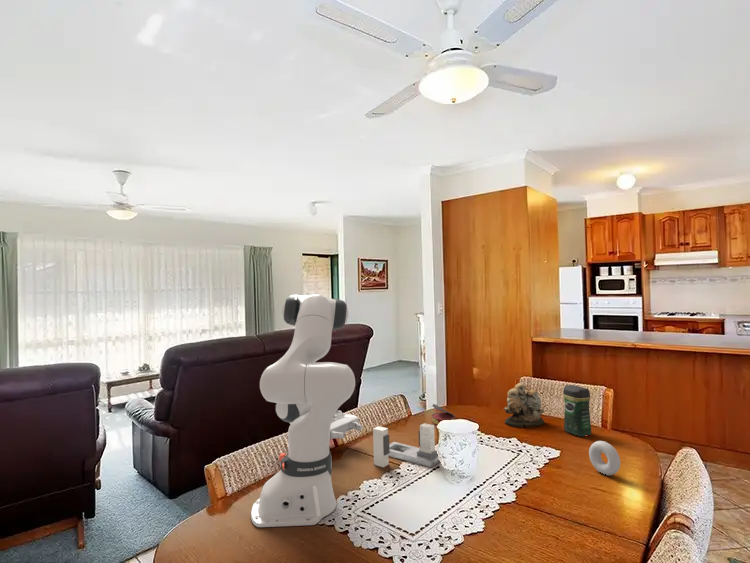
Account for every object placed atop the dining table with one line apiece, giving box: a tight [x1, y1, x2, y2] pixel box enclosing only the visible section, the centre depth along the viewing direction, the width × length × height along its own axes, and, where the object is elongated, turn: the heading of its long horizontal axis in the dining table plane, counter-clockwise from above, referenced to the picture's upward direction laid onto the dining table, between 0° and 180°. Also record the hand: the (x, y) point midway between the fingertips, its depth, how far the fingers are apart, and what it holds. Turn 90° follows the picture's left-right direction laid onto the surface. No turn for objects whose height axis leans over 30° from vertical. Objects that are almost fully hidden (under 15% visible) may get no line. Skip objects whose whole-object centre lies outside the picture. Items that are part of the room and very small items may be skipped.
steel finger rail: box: [389, 422, 440, 468], centre depth 147 cm, size 20×8×12 cm, turn 53°
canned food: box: [431, 403, 456, 426], centre depth 184 cm, size 11×10×10 cm
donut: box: [588, 440, 621, 476], centre depth 131 cm, size 10×4×10 cm, turn 23°
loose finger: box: [372, 425, 390, 469], centre depth 141 cm, size 5×3×12 cm, turn 53°
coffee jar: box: [562, 384, 592, 437], centre depth 167 cm, size 10×8×19 cm
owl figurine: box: [503, 382, 545, 428], centre depth 181 cm, size 18×12×17 cm, turn 103°
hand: (352, 431), depth 149 cm, fingers open, 8 cm apart
